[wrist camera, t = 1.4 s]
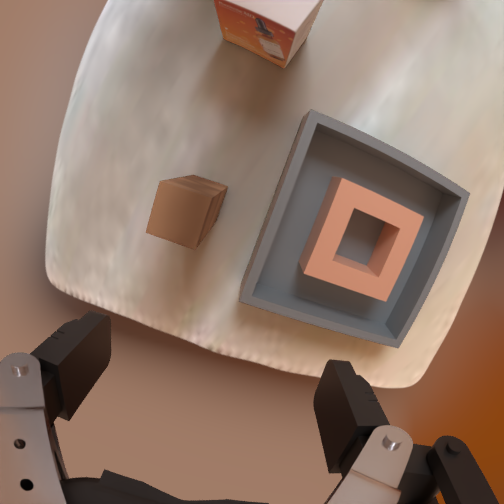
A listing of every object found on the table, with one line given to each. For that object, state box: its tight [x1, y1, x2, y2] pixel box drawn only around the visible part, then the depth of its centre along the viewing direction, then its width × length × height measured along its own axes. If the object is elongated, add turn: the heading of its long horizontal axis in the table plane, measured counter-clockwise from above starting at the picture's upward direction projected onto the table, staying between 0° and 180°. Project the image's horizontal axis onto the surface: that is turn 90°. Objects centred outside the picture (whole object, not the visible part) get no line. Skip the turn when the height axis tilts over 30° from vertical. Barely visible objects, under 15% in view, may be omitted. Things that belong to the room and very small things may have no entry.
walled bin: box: [239, 110, 470, 348], centre depth 32 cm, size 20×20×5 cm
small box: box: [214, 0, 323, 68], centre depth 23 cm, size 8×6×10 cm
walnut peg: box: [146, 175, 228, 250], centre depth 28 cm, size 4×4×12 cm
